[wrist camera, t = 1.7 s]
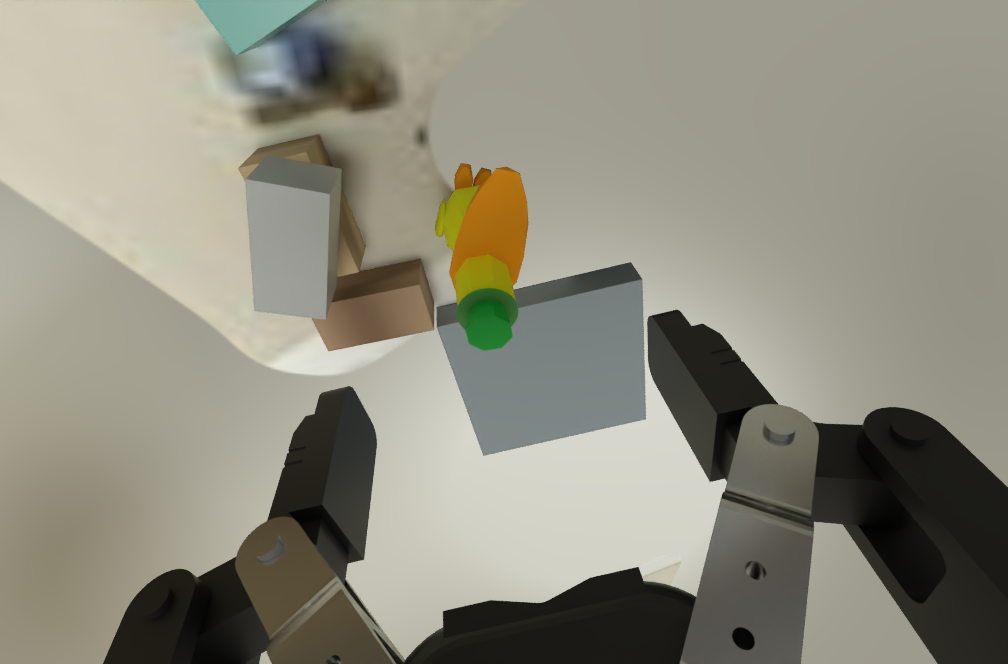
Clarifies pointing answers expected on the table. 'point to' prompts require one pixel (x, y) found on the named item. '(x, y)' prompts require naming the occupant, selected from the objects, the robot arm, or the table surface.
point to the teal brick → (253, 19)
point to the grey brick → (293, 236)
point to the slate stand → (555, 361)
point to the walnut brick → (378, 306)
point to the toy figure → (485, 250)
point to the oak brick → (349, 233)
